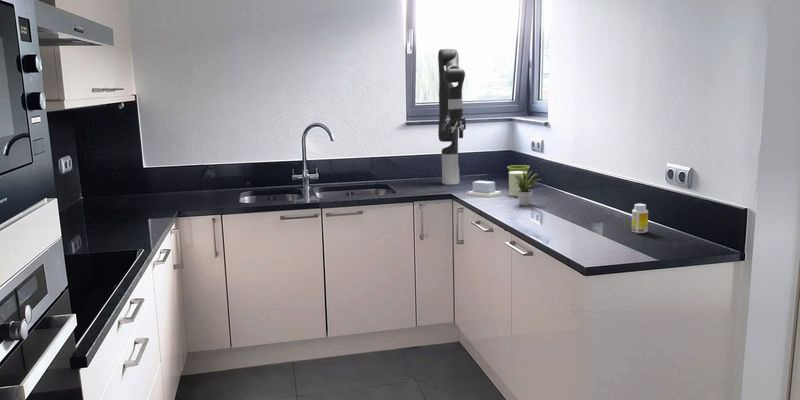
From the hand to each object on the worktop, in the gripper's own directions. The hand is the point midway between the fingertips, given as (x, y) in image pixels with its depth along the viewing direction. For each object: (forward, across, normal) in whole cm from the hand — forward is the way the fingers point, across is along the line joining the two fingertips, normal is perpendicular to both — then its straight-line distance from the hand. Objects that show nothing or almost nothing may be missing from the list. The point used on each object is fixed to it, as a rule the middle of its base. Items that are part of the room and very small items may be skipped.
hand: (456, 139), depth 331 cm
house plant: (+27, +16, +50) cm, 59 cm away
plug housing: (+26, +3, +19) cm, 32 cm away
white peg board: (+27, +3, +19) cm, 33 cm away
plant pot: (+28, -25, +22) cm, 44 cm away
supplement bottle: (+26, +40, +112) cm, 122 cm away
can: (+28, -5, +34) cm, 44 cm away
